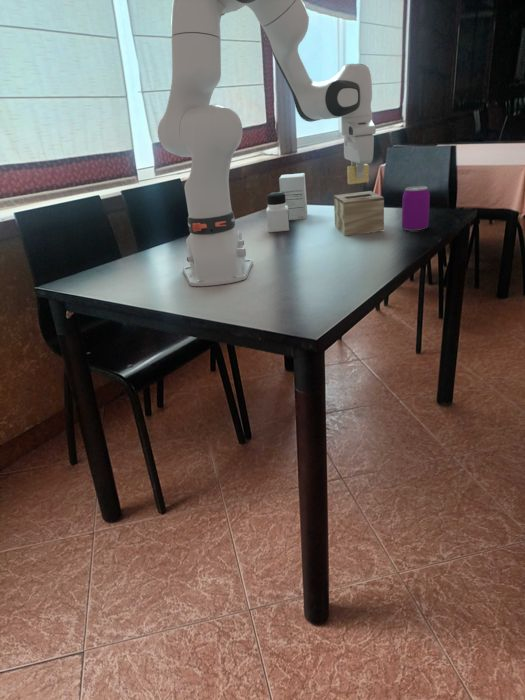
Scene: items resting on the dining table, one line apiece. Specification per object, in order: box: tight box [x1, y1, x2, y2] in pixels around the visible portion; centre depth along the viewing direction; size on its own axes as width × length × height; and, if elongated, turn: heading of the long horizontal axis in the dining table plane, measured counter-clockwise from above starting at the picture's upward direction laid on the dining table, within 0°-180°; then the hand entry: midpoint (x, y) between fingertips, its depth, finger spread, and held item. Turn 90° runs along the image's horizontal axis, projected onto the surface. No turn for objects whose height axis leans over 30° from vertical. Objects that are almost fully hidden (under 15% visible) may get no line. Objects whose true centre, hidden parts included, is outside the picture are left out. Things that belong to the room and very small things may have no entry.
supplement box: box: [278, 172, 308, 221], centre depth 180 cm, size 9×9×15 cm
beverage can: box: [401, 185, 431, 231], centre depth 146 cm, size 8×8×12 cm
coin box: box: [333, 190, 385, 237], centre depth 154 cm, size 14×12×10 cm
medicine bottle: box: [266, 191, 291, 233], centre depth 165 cm, size 7×7×12 cm
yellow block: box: [346, 163, 370, 185], centre depth 149 cm, size 2×6×5 cm, turn 95°
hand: (357, 177), depth 150 cm, fingers closed on yellow block, 2 cm apart
